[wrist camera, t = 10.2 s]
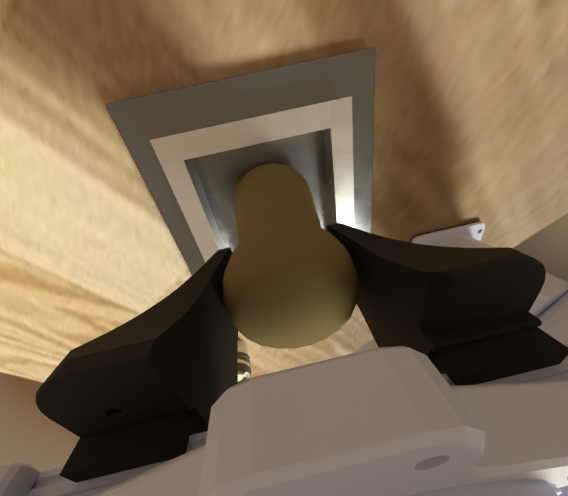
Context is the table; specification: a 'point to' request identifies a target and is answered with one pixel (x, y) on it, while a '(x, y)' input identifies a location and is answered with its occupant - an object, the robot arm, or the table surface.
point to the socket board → (255, 145)
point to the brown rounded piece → (285, 264)
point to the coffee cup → (243, 362)
